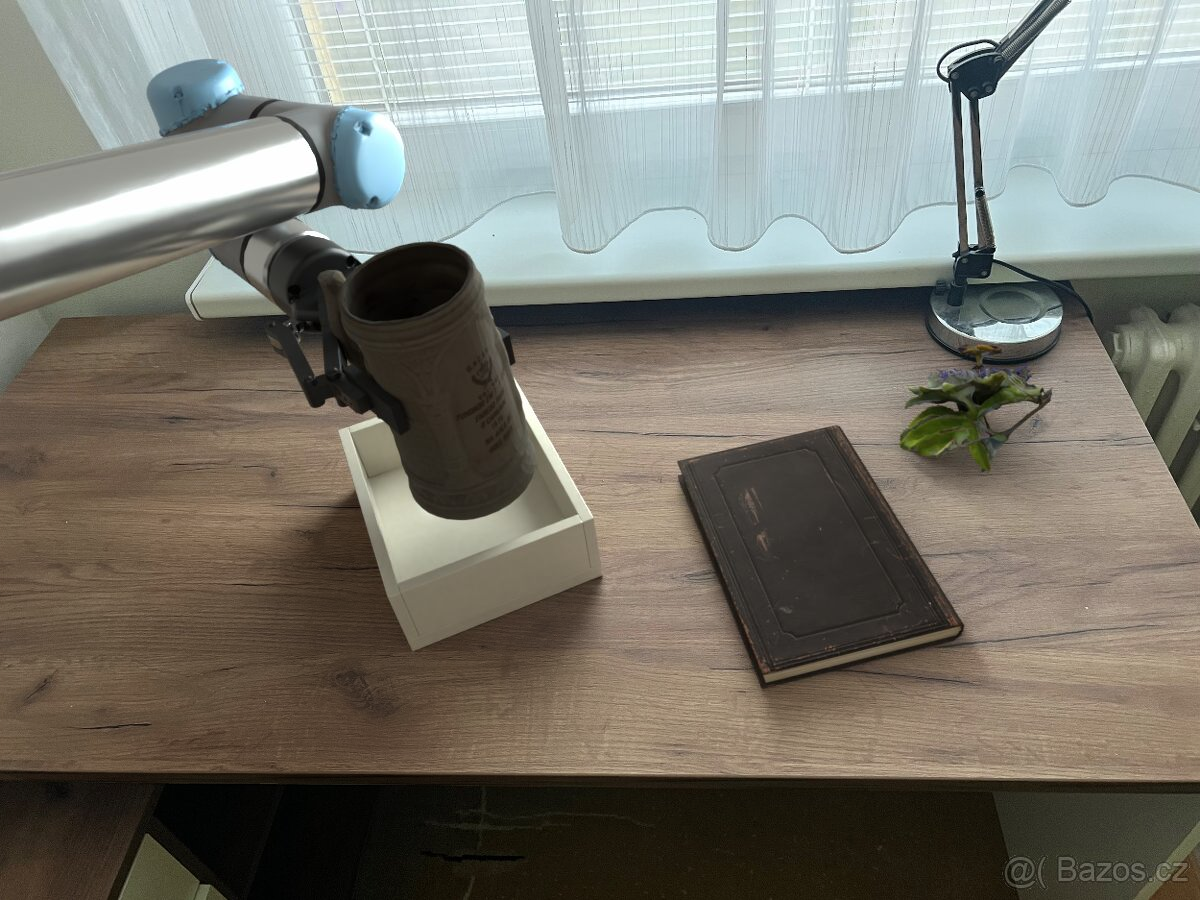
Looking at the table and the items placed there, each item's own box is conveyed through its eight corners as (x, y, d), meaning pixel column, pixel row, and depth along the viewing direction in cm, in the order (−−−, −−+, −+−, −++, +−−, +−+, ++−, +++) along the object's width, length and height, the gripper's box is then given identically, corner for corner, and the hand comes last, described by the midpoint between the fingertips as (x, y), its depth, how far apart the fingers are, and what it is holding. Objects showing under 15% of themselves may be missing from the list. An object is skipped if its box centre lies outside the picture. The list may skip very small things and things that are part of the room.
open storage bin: (412, 652, 71) (387, 597, 66) (361, 485, 86) (337, 430, 80) (603, 575, 75) (594, 517, 70) (523, 427, 89) (510, 371, 84)
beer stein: (565, 439, 74) (502, 235, 60) (511, 536, 67) (427, 333, 54) (415, 416, 80) (326, 226, 66) (352, 504, 73) (238, 313, 59)
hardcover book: (761, 689, 66) (762, 672, 64) (678, 477, 82) (677, 460, 81) (961, 639, 67) (967, 621, 65) (839, 440, 83) (841, 423, 82)
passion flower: (952, 454, 88) (1036, 358, 83) (1001, 520, 79) (1098, 417, 73) (864, 412, 85) (945, 309, 79) (905, 476, 75) (1000, 365, 70)
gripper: (419, 258, 84) (573, 352, 71) (209, 370, 75) (343, 501, 62) (399, 186, 79) (561, 273, 66) (170, 297, 69) (308, 424, 57)
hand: (456, 384), depth 64 cm, fingers closed on beer stein, 9 cm apart
